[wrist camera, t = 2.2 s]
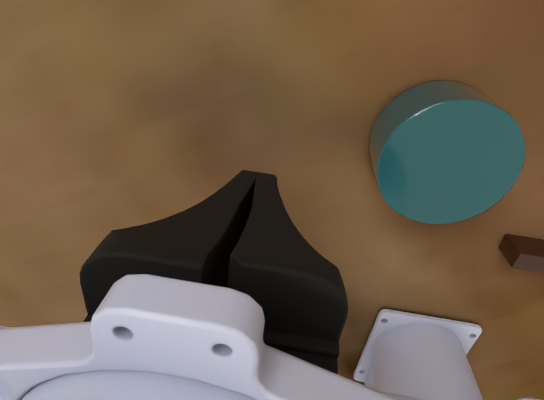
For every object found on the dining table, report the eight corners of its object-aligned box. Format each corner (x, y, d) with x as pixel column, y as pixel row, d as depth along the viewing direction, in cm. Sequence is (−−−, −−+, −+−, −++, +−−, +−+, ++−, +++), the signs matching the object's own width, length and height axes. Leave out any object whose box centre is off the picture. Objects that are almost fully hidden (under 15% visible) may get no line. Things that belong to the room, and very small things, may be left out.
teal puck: (465, 200, 23) (487, 233, 20) (356, 182, 23) (361, 213, 20) (519, 90, 19) (556, 111, 16) (388, 70, 19) (400, 88, 16)
